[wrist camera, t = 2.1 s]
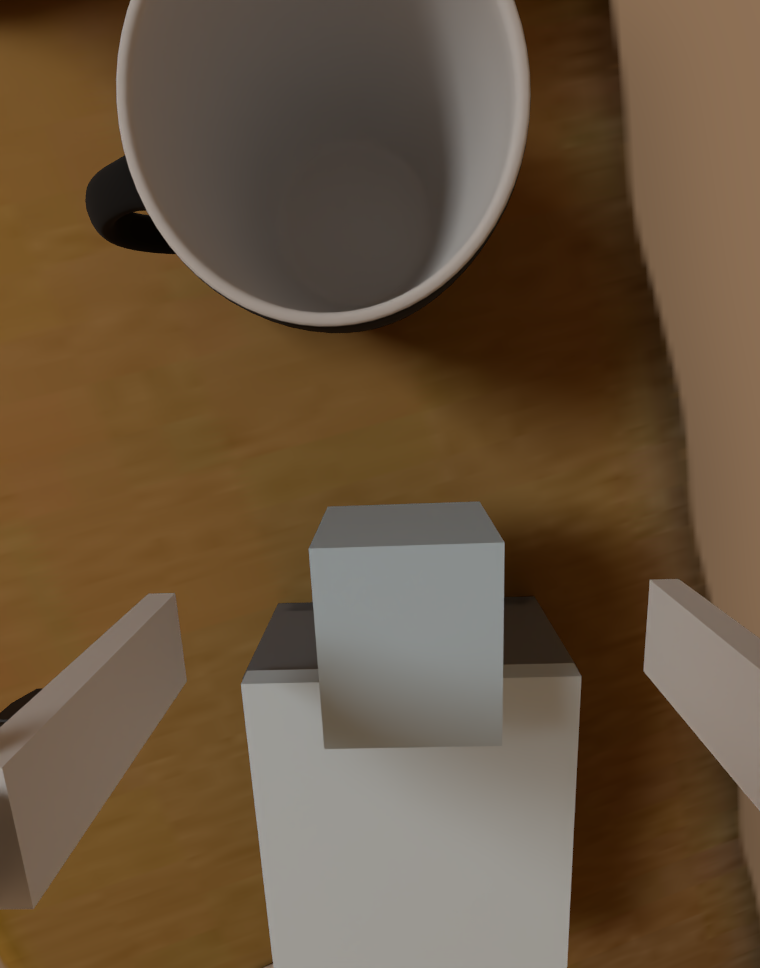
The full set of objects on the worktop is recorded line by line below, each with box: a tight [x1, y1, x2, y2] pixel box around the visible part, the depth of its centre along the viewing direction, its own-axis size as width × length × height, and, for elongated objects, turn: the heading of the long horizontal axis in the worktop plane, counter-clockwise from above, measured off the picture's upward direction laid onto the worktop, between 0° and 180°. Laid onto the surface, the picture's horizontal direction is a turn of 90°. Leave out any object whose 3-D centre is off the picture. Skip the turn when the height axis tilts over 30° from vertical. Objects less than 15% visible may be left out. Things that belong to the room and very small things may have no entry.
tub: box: [243, 596, 579, 679], centre depth 23 cm, size 16×12×6 cm
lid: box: [241, 502, 582, 968], centre depth 18 cm, size 23×12×5 cm, turn 2°
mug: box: [86, 0, 531, 333], centre depth 16 cm, size 12×9×10 cm
